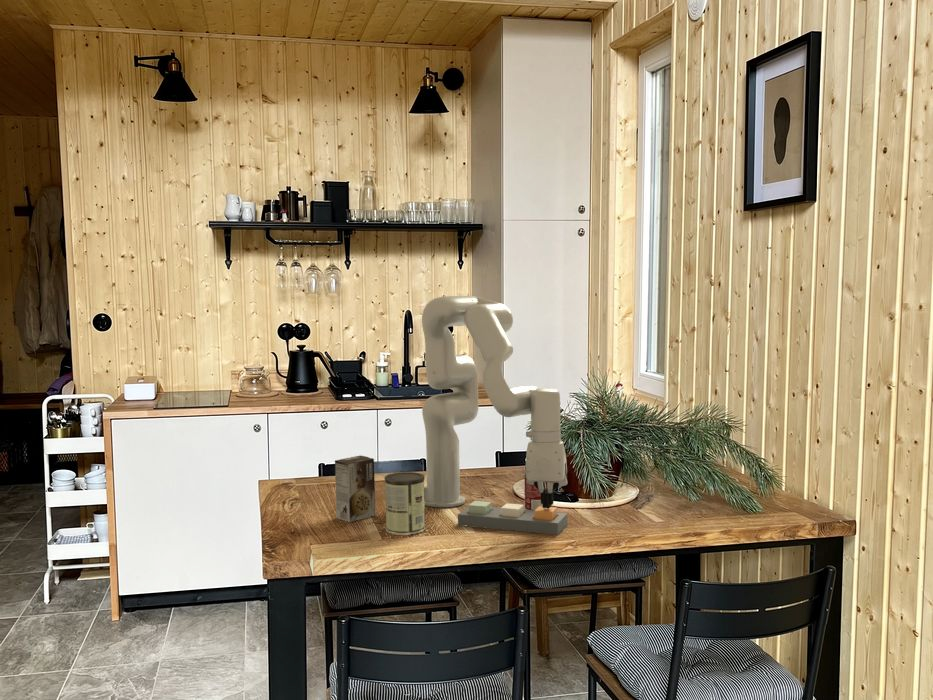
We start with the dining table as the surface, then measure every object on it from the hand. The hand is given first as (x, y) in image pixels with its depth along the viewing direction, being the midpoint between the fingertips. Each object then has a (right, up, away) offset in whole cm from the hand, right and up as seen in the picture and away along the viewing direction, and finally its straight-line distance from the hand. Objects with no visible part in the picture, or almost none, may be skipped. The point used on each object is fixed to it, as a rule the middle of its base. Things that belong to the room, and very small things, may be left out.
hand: (547, 507), depth 228 cm
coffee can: (-37, -6, +1) cm, 37 cm away
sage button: (-17, -3, +7) cm, 19 cm away
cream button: (-9, -3, +4) cm, 10 cm away
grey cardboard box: (-51, -5, +13) cm, 53 cm away
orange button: (0, -3, +1) cm, 3 cm away
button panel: (-9, -5, +4) cm, 11 cm away
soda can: (-1, -4, +18) cm, 19 cm away
